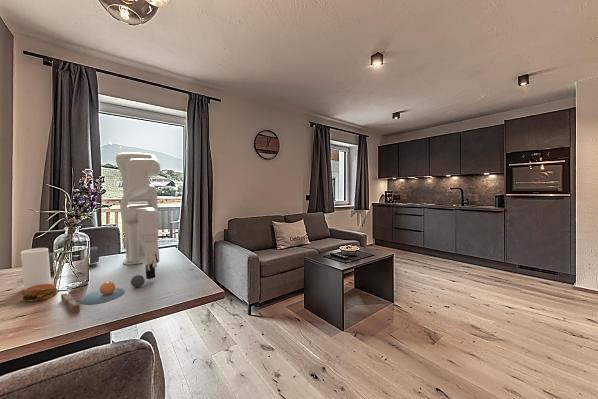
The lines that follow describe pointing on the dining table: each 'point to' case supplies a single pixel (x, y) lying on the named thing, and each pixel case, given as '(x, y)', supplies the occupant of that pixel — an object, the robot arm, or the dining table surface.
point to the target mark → (101, 297)
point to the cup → (35, 267)
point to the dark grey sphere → (137, 281)
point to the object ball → (107, 288)
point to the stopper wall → (70, 303)
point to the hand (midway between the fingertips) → (150, 278)
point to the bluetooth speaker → (93, 257)
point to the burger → (39, 292)
